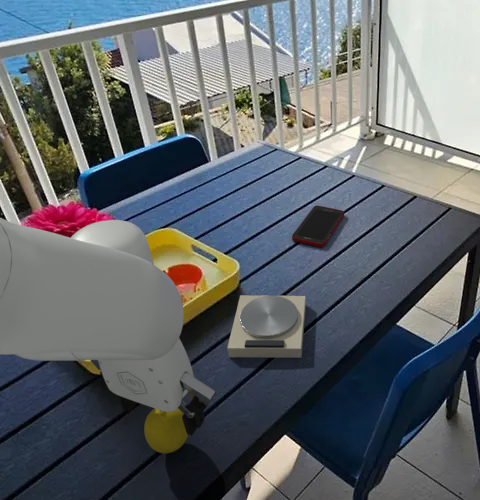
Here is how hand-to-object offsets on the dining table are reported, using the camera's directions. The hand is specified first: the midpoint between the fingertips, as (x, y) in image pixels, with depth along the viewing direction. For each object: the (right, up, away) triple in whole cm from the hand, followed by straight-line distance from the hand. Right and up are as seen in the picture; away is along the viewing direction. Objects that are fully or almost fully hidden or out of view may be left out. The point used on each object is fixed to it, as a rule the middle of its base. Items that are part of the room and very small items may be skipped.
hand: (164, 414), depth 66 cm
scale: (+10, +8, +22) cm, 25 cm away
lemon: (0, -6, +3) cm, 7 cm away
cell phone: (+18, +27, +48) cm, 58 cm away
